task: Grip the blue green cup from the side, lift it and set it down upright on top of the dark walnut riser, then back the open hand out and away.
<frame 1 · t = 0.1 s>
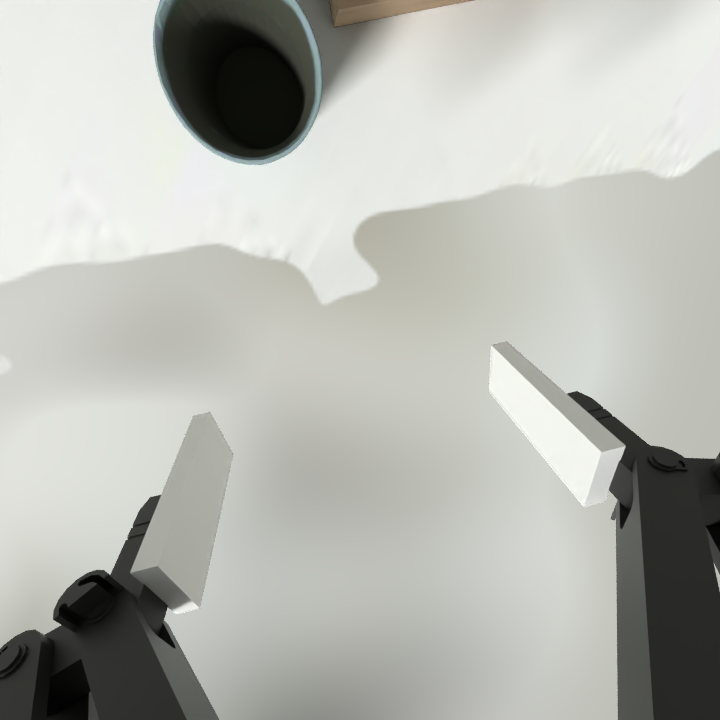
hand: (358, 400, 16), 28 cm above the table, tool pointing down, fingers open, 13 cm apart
blue green cup: (259, 101, 31), on the table
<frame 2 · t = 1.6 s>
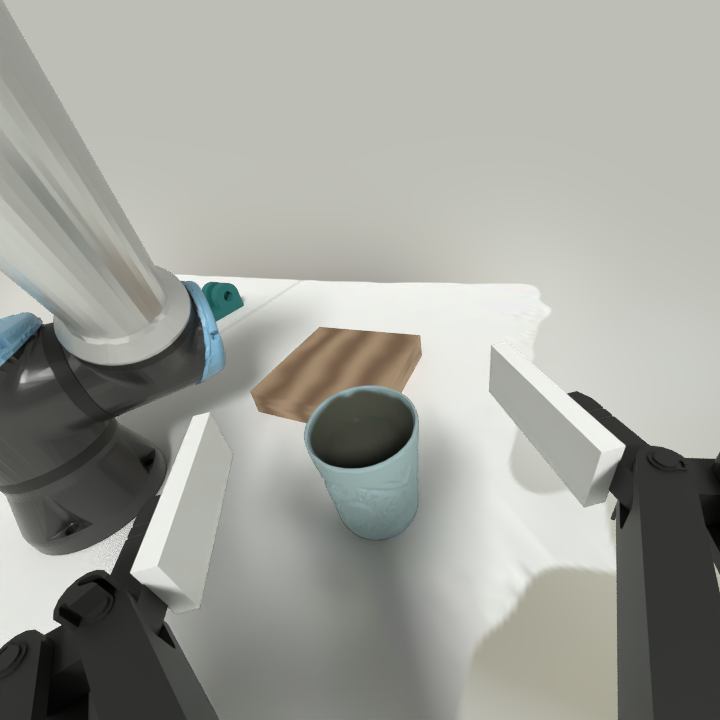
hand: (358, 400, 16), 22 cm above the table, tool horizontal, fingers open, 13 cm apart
walnut riser: (344, 382, 55), on the table
bracket: (210, 320, 89), on the table
blue green cup: (379, 503, 36), on the table
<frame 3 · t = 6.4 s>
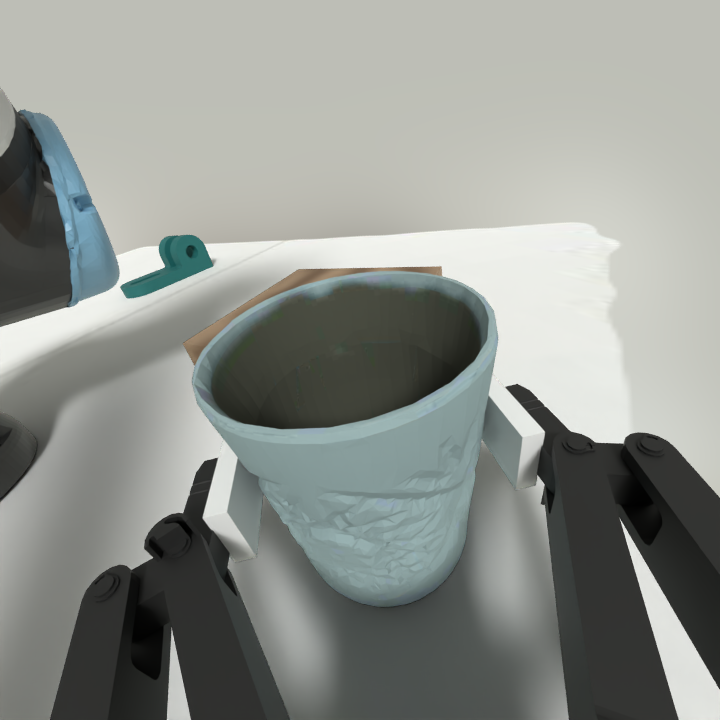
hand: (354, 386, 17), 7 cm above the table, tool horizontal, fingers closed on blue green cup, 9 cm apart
walnut riser: (330, 335, 37), on the table
bracket: (170, 282, 71), on the table
blue green cup: (386, 523, 18), on the table, touching gripper
when the fingers open (12 cm above the table, at t = 12.1 s): blue green cup stays where it is, resting on walnut riser.
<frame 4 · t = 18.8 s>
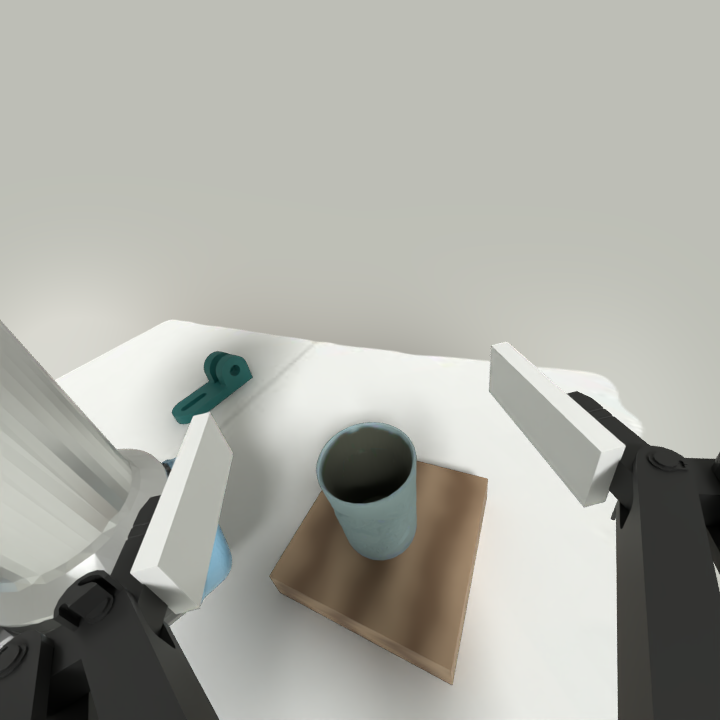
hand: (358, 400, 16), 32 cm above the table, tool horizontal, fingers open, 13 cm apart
walnut riser: (389, 542, 42), on the table
bracket: (214, 398, 76), on the table
blue green cup: (382, 526, 40), point 4 cm above the table, touching walnut riser
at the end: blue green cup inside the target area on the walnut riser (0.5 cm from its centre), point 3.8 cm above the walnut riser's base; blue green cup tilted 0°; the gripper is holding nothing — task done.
